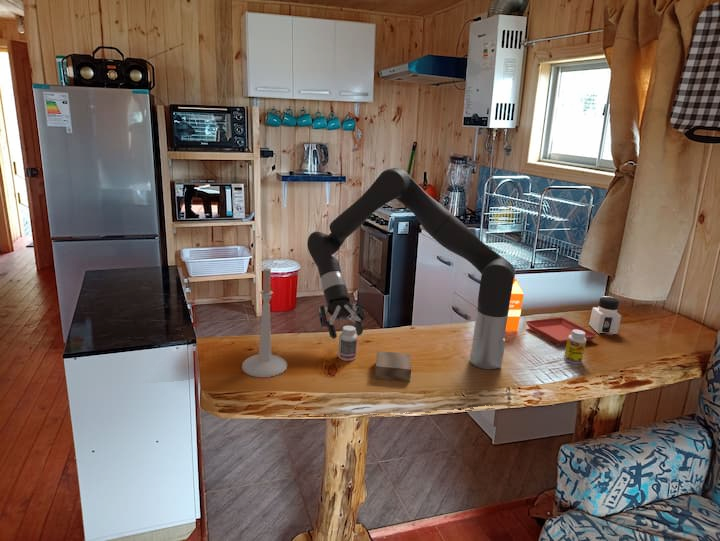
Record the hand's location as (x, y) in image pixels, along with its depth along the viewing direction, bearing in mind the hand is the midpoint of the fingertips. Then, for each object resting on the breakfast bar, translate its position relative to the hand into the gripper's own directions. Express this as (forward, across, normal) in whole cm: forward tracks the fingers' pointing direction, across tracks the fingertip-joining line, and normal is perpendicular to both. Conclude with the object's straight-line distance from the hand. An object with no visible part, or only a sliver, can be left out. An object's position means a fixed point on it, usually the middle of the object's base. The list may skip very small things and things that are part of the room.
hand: (347, 336), depth 161 cm
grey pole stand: (+4, -26, +6) cm, 26 cm away
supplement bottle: (+23, +70, -13) cm, 75 cm away
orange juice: (+2, +66, +8) cm, 66 cm away
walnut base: (+14, +9, -5) cm, 18 cm away
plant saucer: (+11, +82, -1) cm, 83 cm away
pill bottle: (+5, 0, +4) cm, 7 cm away
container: (+12, +103, -2) cm, 104 cm away
